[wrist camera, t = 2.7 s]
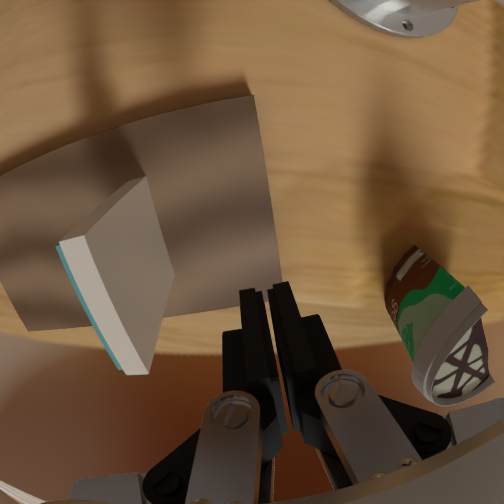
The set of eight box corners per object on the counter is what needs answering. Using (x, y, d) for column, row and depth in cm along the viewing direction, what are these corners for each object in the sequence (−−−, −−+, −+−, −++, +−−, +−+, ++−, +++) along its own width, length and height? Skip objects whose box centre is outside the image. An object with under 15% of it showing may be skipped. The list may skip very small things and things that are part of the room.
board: (-25, 190, 17) (-34, 194, 16) (252, 95, 17) (253, 94, 16) (33, 323, 24) (28, 331, 23) (282, 289, 23) (284, 298, 22)
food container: (348, 277, 23) (401, 371, 14) (408, 231, 22) (487, 304, 13) (398, 351, 28) (438, 426, 19) (445, 317, 27) (495, 384, 18)
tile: (122, 182, 18) (51, 243, 10) (145, 176, 18) (83, 235, 10) (153, 278, 21) (119, 375, 13) (174, 274, 21) (148, 373, 13)
